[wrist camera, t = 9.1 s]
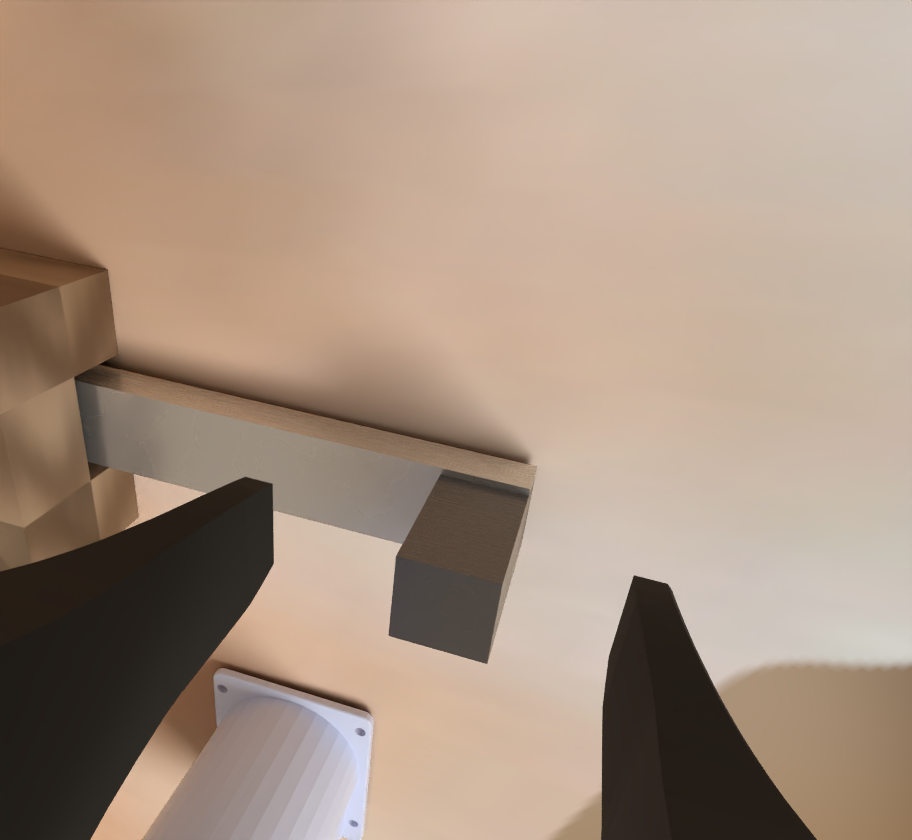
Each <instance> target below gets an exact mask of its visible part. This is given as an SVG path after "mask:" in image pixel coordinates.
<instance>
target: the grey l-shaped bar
mask: <svg viewBox="0 0 912 840" xmlns="http://www.w3.org/2000/svg"><path fill="white" fill-rule="evenodd" d="M74 380H75V387H76V393H77V399H78V405H79V411H80V418H81V424H82V430H83V436H84V442H85V449H86V455H87V461H88V462H91V463H94V464H98V465H102V466H106V467H110V468H114V469H117V470H121V471H125V472H129V473H133V474H136V475H140V476H144V477H148V478H152V479H156V480H159V481H163V482H167V483H171V484H175V485H179V486H182V487H186V488H190V489H194V490H198V491H202V492H205V493H209V492H211V491H213V490H216V489H218V488H220V487H222V486H224V485H227V484H229V483H231V482H233V481H236V480H238V479H241V478H243V477H248V478H252V479H256V480H260V481H264V482H268V483H272V484H273V510H274V511H278V512H282V513H286V514H290V515H293V516H297V517H301V518H305V519H309V520H313V521H316V522H320V523H324V524H328V525H332V526H336V527H339V528H343V529H347V530H351V531H355V532H358V533H362V534H366V535H370V536H374V537H378V538H381V539H385V540H389V541H393V542H397V543H401V544H402V546H401V548H400V550H399V552H398V554H397V556H396V563H395V574H394V584H393V595H392V605H391V616H390V626H389V636H391V637H395V638H398V639H402V640H405V641H409V642H412V643H416V644H419V645H423V646H426V647H430V648H433V649H437V650H440V651H444V652H447V653H451V654H454V655H458V656H461V657H465V658H468V659H472V660H475V661H479V662H482V663H486V664H487V663H488V659H489V656H490V652H491V649H492V645H493V642H494V638H495V635H496V631H497V627H498V624H499V620H500V617H501V613H502V610H503V606H504V603H505V599H506V596H507V592H508V589H509V585H510V582H511V578H512V575H513V573H514V569H515V566H516V562H517V559H518V555H519V551H520V548H521V543H522V538H523V533H524V528H525V523H526V518H527V514H528V509H529V504H530V499H531V494H532V489H533V484H534V479H535V474H536V469H537V466H533V465H528V464H524V463H520V462H516V461H511V460H507V459H503V458H498V457H494V456H490V455H485V454H481V453H477V452H473V451H468V450H464V449H460V448H455V447H451V446H447V445H443V444H438V443H434V442H430V441H425V440H421V439H417V438H412V437H408V436H404V435H400V434H395V433H391V432H387V431H382V430H378V429H374V428H370V427H365V426H361V425H357V424H352V423H348V422H344V421H339V420H335V419H331V418H327V417H322V416H318V415H314V414H309V413H305V412H301V411H296V410H292V409H288V408H284V407H279V406H275V405H271V404H266V403H262V402H258V401H254V400H249V399H245V398H241V397H236V396H232V395H228V394H223V393H219V392H215V391H211V390H206V389H202V388H198V387H193V386H189V385H185V384H180V383H176V382H172V381H168V380H163V379H159V378H155V377H150V376H146V375H142V374H138V373H133V372H129V371H125V370H120V369H116V368H112V367H107V366H103V365H99V364H98V365H97V366H95V367H93V368H91V369H89V370H87V371H85V372H83V373H81V374H79V375H77V376H75V377H74Z"/></svg>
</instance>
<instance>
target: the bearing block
mask: <svg viewBox="0 0 912 840" xmlns="http://www.w3.org/2000/svg"><path fill="white" fill-rule="evenodd" d="M116 355H118V350H117V342H116V334H115V326H114V318H113V310H112V302H111V294H110V286H109V278H108V270H104V269H99V268H94V267H90V266H85V265H80V264H75V263H70V262H65V261H60V260H56V259H51V258H46V257H41V256H36V255H31V254H26V253H22V252H17V251H12V250H7V249H2V248H0V571H4V570H8V569H12V568H15V567H19V566H23V565H27V564H31V563H34V562H37V561H41V560H44V559H47V558H50V557H53V556H56V555H59V554H62V553H66V552H69V551H72V550H75V549H77V548H80V547H83V546H86V545H89V544H91V543H94V542H97V541H99V540H102V539H104V538H107V537H109V536H112V535H114V534H117V533H119V532H121V531H123V530H124V529H125V528H126V527H128V526H129V525H130V524H131V523H132V522H134V521H135V520H136V519H137V518H138V509H137V501H136V493H135V485H134V477H133V473H129V472H125V471H121V470H117V469H114V468H110V467H106V466H102V465H98V464H94V463H91V462H88V461H87V455H86V449H85V442H84V436H83V430H82V424H81V418H80V411H79V405H78V399H77V393H76V387H75V380H74V377H75V376H77V375H79V374H81V373H83V372H85V371H87V370H89V369H91V368H93V367H95V366H97V365H98V364H100V363H102V362H104V361H106V360H108V359H110V358H112V357H114V356H116Z"/></svg>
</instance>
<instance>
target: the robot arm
mask: <svg viewBox="0 0 912 840" xmlns="http://www.w3.org/2000/svg"><path fill="white" fill-rule="evenodd" d="M273 564H274V548H273V484H272V483H268V482H264V481H260V480H256V479H252V478H248V477H243V478H241V479H238V480H236V481H233V482H231V483H229V484H227V485H224V486H222V487H220V488H218V489H216V490H213V491H211V492H209V493H207V494H205V495H203V496H201V497H198V498H196V499H194V500H192V501H190V502H188V503H186V504H183V505H181V506H179V507H177V508H175V509H172V510H170V511H168V512H166V513H164V514H162V515H159V516H157V517H155V518H153V519H150V520H148V521H146V522H143V523H141V524H138V525H136V526H134V527H131V528H129V529H126V530H124V531H121V532H119V533H117V534H114V535H112V536H109V537H107V538H104V539H102V540H99V541H97V542H94V543H91V544H89V545H86V546H83V547H80V548H77V549H75V550H72V551H69V552H66V553H62V554H59V555H56V556H53V557H50V558H47V559H44V560H41V561H37V562H34V563H31V564H27V565H23V566H19V567H15V568H12V569H8V570H4V571H0V840H90V839H91V837H92V835H93V834H94V832H95V830H96V828H97V827H98V825H99V823H100V821H101V819H102V818H103V816H104V814H105V812H106V811H107V809H108V807H109V805H110V804H111V802H112V800H113V799H114V797H115V795H116V794H117V792H118V790H119V789H120V787H121V785H122V784H123V782H124V780H125V779H126V777H127V775H128V774H129V772H130V770H131V769H132V767H133V765H134V764H135V762H136V760H137V759H138V757H139V756H140V754H141V752H142V751H143V749H144V748H145V746H146V745H147V743H148V741H149V740H150V738H151V737H152V735H153V734H154V732H155V730H156V729H157V727H158V726H159V724H160V723H161V721H162V719H163V718H164V716H165V715H166V713H167V712H168V710H169V709H170V708H171V706H172V705H173V704H174V702H175V701H176V699H177V698H178V697H179V695H180V694H181V692H182V691H183V690H184V689H185V687H186V686H187V685H188V684H189V682H190V681H191V680H192V678H193V677H194V676H195V675H196V673H197V672H198V671H199V670H200V668H201V667H202V666H203V664H204V663H205V662H206V661H207V659H208V658H209V657H210V656H211V654H212V653H213V652H214V651H215V649H216V648H217V647H218V645H219V644H220V643H221V642H222V640H223V639H224V638H225V637H226V635H227V634H228V633H229V631H230V630H231V629H232V627H233V626H234V625H235V624H236V622H237V621H238V620H239V618H240V617H241V616H242V614H243V613H244V612H245V610H246V609H247V608H248V606H249V605H250V603H251V602H252V600H253V599H254V597H255V595H256V594H257V592H258V590H259V589H260V587H261V585H262V583H263V582H264V580H265V578H266V576H267V575H268V573H269V571H270V569H271V567H272V566H273ZM213 683H214V696H215V710H216V724H217V729H216V730H215V732H214V733H213V735H212V736H211V738H210V739H209V741H208V742H207V744H206V745H205V747H204V748H203V750H202V751H201V753H200V754H199V756H198V757H197V759H196V760H195V761H194V763H193V764H192V766H191V767H190V769H189V770H188V772H187V773H186V775H185V776H184V778H183V779H182V781H181V782H180V784H179V785H178V787H177V788H176V790H175V791H174V793H173V794H172V796H171V797H170V799H169V800H168V802H167V803H166V805H165V806H164V807H163V809H162V810H161V812H160V813H159V815H158V816H157V818H156V819H155V821H154V822H153V824H152V825H151V827H150V828H149V830H148V831H147V833H146V834H145V836H144V837H143V839H142V840H341V838H342V837H344V838H347V839H350V840H361V838H362V836H363V833H364V827H365V816H366V805H367V793H368V782H369V771H370V760H371V748H372V737H373V726H374V720H373V717H372V716H371V715H370V714H369V713H368V712H365V711H363V710H359V709H356V708H353V707H350V706H346V705H343V704H340V703H337V702H333V701H330V700H327V699H324V698H320V697H317V696H314V695H311V694H307V693H304V692H301V691H298V690H294V689H291V688H288V687H285V686H281V685H278V684H275V683H272V682H268V681H265V680H262V679H259V678H255V677H252V676H249V675H246V674H242V673H239V672H236V671H233V670H229V669H226V668H220V669H218V670H217V671H216V673H215V674H214V676H213ZM601 840H817V839H816V838H815V837H814V835H813V834H812V833H811V832H810V830H809V829H808V828H807V827H806V826H805V824H804V823H803V821H802V820H801V819H800V818H799V816H798V815H797V814H796V813H795V811H794V810H793V809H792V808H791V806H790V805H789V804H788V803H787V801H786V800H785V799H784V797H783V796H782V794H781V793H780V792H779V790H778V789H777V788H776V786H775V785H774V783H773V782H772V780H771V779H770V778H769V776H768V775H767V773H766V772H765V770H764V769H763V767H762V766H761V764H760V763H759V761H758V760H757V758H756V757H755V755H754V754H753V752H752V751H751V749H750V747H749V746H748V744H747V743H746V741H745V739H744V738H743V736H742V734H741V733H740V731H739V729H738V728H737V726H736V725H735V723H734V721H733V719H732V717H731V716H730V714H729V712H728V710H727V709H726V707H725V705H724V703H723V702H722V700H721V698H720V696H719V694H718V692H717V690H716V688H715V687H714V685H713V683H712V681H711V679H710V677H709V675H708V673H707V670H706V668H705V666H704V664H703V662H702V660H701V658H700V656H699V654H698V652H697V650H696V648H695V646H694V643H693V641H692V639H691V637H690V634H689V632H688V630H687V627H686V625H685V623H684V620H683V618H682V615H681V613H680V610H679V608H678V605H677V603H676V600H675V597H674V595H673V592H672V590H671V588H670V587H669V585H668V584H666V583H662V582H658V581H654V580H650V579H646V578H642V577H638V576H634V577H633V580H632V583H631V586H630V590H629V593H628V596H627V599H626V603H625V606H624V609H623V612H622V616H621V619H620V622H619V625H618V629H617V632H616V635H615V638H614V642H613V645H612V648H611V651H610V655H609V660H608V668H607V676H606V684H605V692H604V701H603V720H602V833H601Z"/></svg>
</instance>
